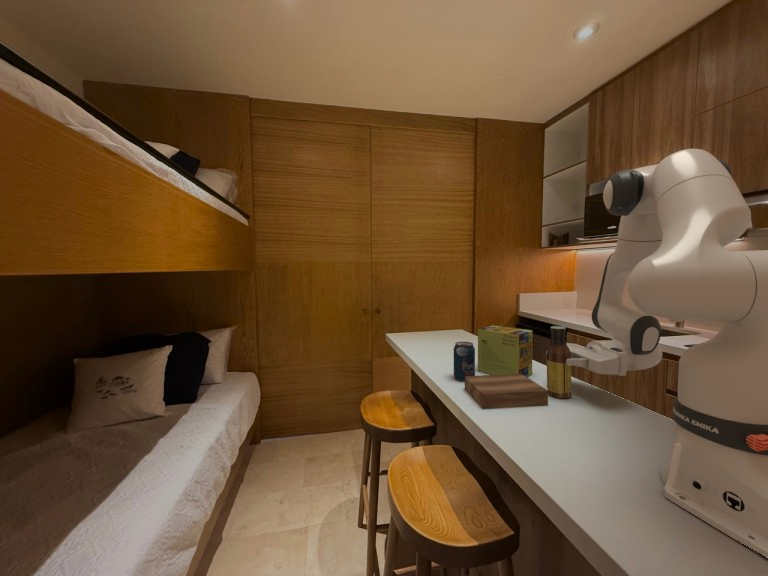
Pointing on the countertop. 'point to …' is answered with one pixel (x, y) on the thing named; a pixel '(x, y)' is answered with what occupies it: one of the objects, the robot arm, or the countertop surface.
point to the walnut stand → (505, 391)
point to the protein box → (505, 350)
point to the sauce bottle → (558, 365)
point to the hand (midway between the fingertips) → (556, 357)
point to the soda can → (464, 360)
